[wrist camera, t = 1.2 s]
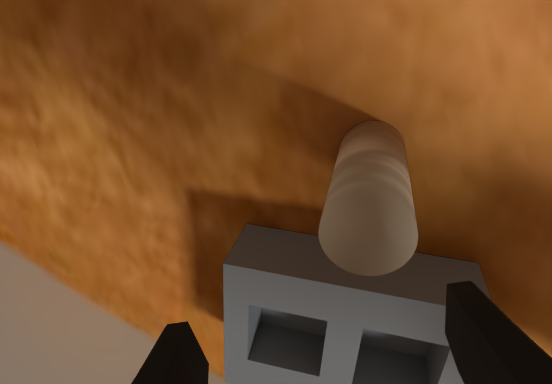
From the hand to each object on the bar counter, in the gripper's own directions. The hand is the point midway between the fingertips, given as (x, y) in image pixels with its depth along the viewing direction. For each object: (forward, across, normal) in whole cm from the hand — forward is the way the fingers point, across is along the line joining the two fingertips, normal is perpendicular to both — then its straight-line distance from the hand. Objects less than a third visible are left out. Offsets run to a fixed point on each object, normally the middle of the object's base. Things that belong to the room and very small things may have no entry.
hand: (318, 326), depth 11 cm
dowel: (+11, -4, +1) cm, 11 cm away
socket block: (+10, -1, +10) cm, 14 cm away
